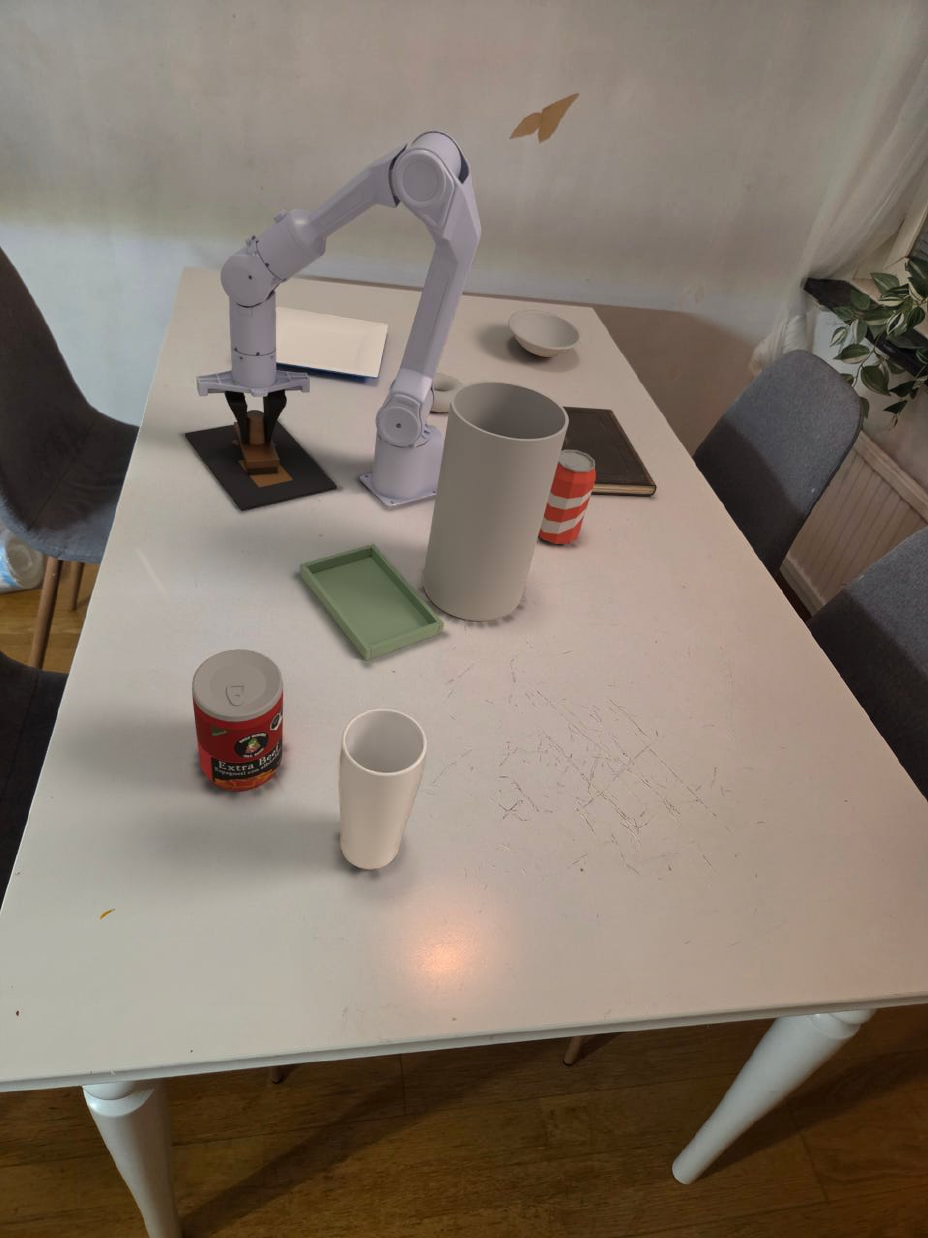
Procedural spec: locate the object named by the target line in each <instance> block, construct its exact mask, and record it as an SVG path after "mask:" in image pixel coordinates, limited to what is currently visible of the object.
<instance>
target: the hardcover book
mask: <svg viewBox="0 0 928 1238" xmlns="http://www.w3.org/2000/svg"><path fill="white" fill-rule="evenodd" d="M561 406H562V407H563V408H564V409H565V411H566V413H567V415H568V418H569V423H568V427H567V431H566V434H565V438H564V442H563V446H562V449H561V451H563V450H577V451H580V452H583V453H586V454H588V455H589V456H590V457H591V458H592V459H593V460H594V461H595V471H596V479H595V483H594V486H593V489H592V492H591V495H595V496H596V495H599V496H620V497H621V496H623V497H649V498H650V497H653V496H654V495H655V493H656V491H657V488H658V486H657V484H656V482H655V481H654V479H653V477H652V476H651V474H650V473H649V470H648V469H647V466H645V463H644V462H643V461H642V459H641V457H640V455H639V453H638V452H637V450H636V449H635V447H634V445H633V444H632V442H631V440H630V438H629V437H628V434H627V433H626V432H625V430H624V428H623V425H621V423H620V422H619V420H618V418H617V416H616V414H615V413H614V411H613V410H612V409H609V408H608V409H607V408H595V407H593V408H591V407H577V406H563V405H561Z"/></svg>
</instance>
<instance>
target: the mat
mask: <svg viewBox="0 0 928 1238" xmlns="http://www.w3.org/2000/svg"><path fill="white" fill-rule="evenodd" d="M184 437H185V438H186V439H187V441H188V442H189V443H190V445H191V446H192V447H193V449H194V450H195V451H196V453H197V455H199V456H200V458H201V460H203V462H204V463H205V465H206V466H207V467H208V468H209V470H210V471H211V472H212V474H213V475H214V477H215V478H216V479H217V480H218V482H219V483H220V484H221V486H222V487H223V489H225V491H226V492H227V494H228V495H229V496H230V497H231V499H232V500H233V502H234V503H235V504H236V505H237V507H238V508H239V510H240V511H241V512H243V511H247V510H252V509H256V508H260V507H265V506H269V505H273V504H277V503H282V502H286V501H291V500H294V499H299V498H303V497H307V496H313V495H316V494H320V493H324V492H329V491H332V490H337V489H338V485H337V484H336V483H335V482H334V481H333V480H332V479H331V477H329V476H328V474H327V472H325V471H324V470H323V468H322V467H320V465H319V464H318V463H317V462H316V461H315V460H314V458H312V457H311V456H310V454H309V453H308V452H307V451H306V450H305V448H304V447H302V446H301V444H300V443H299V442H298V441H297V440H296V439H295V438H294V437H293V436H292V435H291V434H290V432H288V430H287V429H286V428H285V427H284V426H283V424H281V423H280V421H279V419H278V420H277V422H276V424H275V427H274V430H273V434H272V438H271V439H272V442H273V444H274V447H275V450H276V452H277V455H278V457H279V467H278V473H273V474H259V475H248V473H247V469H246V466H245V463H244V460H243V457H242V454H241V451H240V448H239V445H238V442H237V439H236V434H235V430H234V424H229V425H223V426H222V425H221V426H217V427H211V428H206V429H199V430H195V431H188V432H184Z"/></svg>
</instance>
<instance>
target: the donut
mask: <svg viewBox="0 0 928 1238" xmlns="http://www.w3.org/2000/svg"><path fill="white" fill-rule="evenodd" d="M433 386H434V393H435V402H434V405H433V407H432V408H431V410H430V412H436V413H449V409H450V403H451V397H452V395H453V393H454V392H455V391H456V390H457V389H459V388H460V387H462V386H464V384H463V383H462V382H461V381H460V380H459V379H457V378H455V377H453V376H451V375H448V374H446V373H445V374H444V373H439V372H436V376H435V379H434V385H433Z"/></svg>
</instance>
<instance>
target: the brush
mask: <svg viewBox="0 0 928 1238" xmlns="http://www.w3.org/2000/svg"><path fill="white" fill-rule="evenodd" d="M233 425H234V430H235V434H236V439H237V442H238V445H239V448H240V451H241V454H242V457H243V460H244V463H245V466H246V469H247V473H248V475H259V474H273V473H278V467H279V457H278V455H277V452H276V450H275V447H274V444H273V442H272V439H271V442H266V440H265V414H264V411H261V410H259V409H251V410H250V409H249V410H247V432H248V443H243V442H242V439H241V437H240V430H239V426H238V422H237V421H234V422H233Z"/></svg>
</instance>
